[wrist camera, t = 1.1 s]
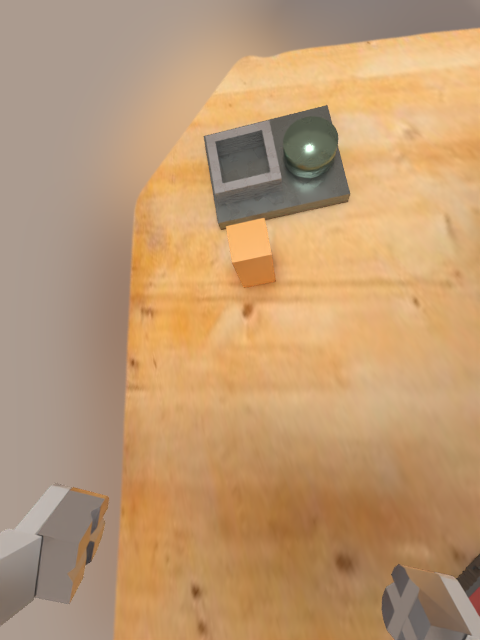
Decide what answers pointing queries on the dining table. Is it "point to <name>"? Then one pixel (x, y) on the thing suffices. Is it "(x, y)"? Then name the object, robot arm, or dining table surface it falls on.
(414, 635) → the robot arm
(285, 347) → the dining table surface
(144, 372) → the dining table surface
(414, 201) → the dining table surface
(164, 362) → the dining table surface
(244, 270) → the tall orange prism
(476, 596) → the walkie-talkie
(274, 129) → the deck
